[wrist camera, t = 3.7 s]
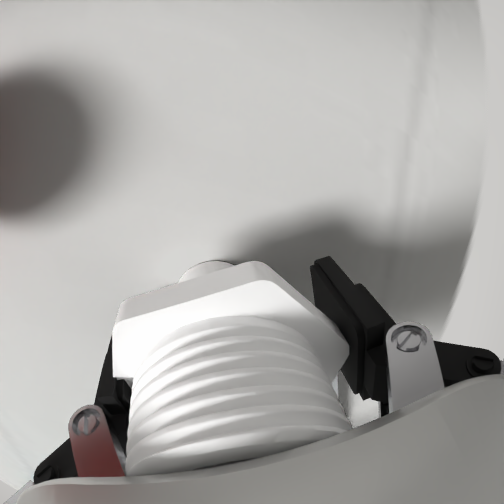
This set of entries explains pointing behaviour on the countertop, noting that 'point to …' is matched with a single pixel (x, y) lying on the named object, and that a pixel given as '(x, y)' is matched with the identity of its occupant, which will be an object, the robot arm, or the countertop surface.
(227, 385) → the pipe fitting
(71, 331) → the countertop surface
